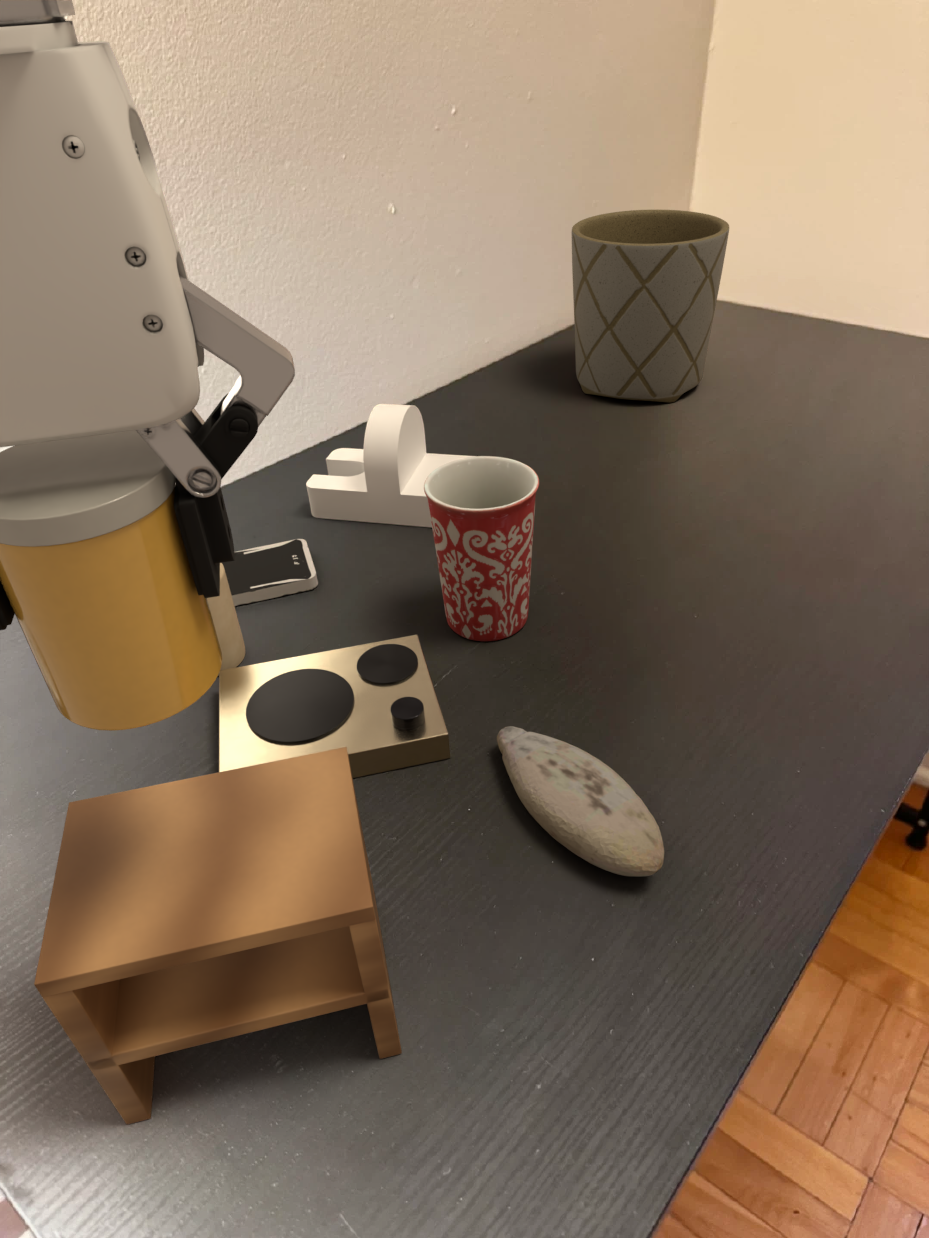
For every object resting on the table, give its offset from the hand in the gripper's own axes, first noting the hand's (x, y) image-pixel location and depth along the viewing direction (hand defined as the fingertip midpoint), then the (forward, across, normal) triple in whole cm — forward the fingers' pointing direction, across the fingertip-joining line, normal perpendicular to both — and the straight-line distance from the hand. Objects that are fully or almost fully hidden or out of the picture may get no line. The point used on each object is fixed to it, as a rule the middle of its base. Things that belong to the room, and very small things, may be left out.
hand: (110, 589), depth 31 cm
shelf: (+28, -1, +1) cm, 28 cm away
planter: (+28, -54, -76) cm, 98 cm away
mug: (+28, -22, -31) cm, 48 cm away
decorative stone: (+28, -22, -7) cm, 36 cm away
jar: (+4, 0, 0) cm, 4 cm away
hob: (+28, -7, -20) cm, 35 cm away
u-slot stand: (+28, -18, -53) cm, 63 cm away
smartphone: (+28, 0, -42) cm, 51 cm away
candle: (+28, +2, -31) cm, 42 cm away
